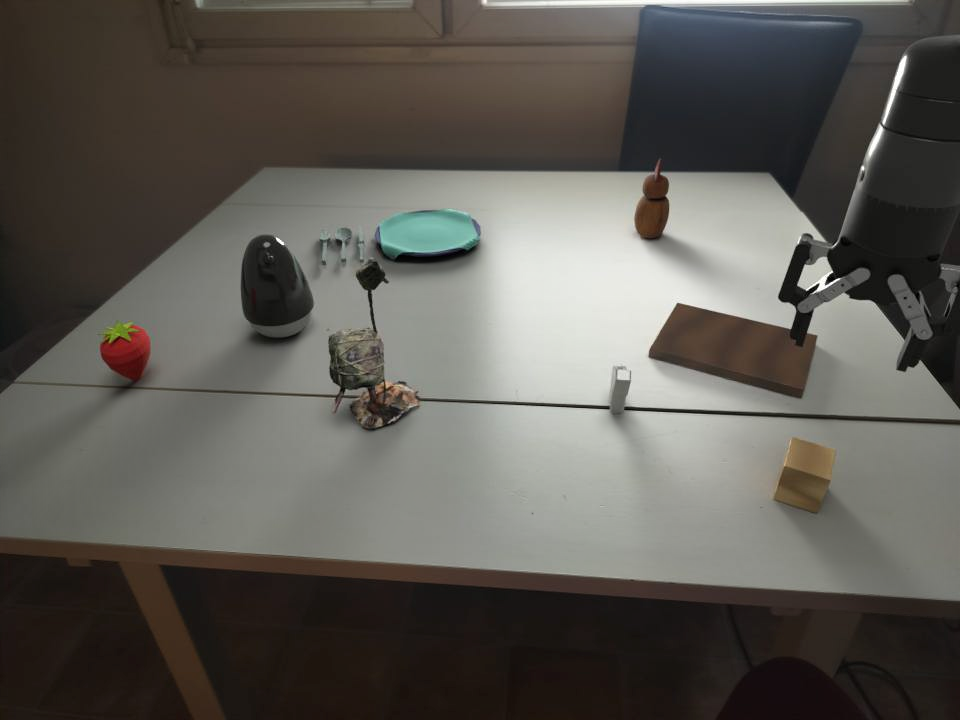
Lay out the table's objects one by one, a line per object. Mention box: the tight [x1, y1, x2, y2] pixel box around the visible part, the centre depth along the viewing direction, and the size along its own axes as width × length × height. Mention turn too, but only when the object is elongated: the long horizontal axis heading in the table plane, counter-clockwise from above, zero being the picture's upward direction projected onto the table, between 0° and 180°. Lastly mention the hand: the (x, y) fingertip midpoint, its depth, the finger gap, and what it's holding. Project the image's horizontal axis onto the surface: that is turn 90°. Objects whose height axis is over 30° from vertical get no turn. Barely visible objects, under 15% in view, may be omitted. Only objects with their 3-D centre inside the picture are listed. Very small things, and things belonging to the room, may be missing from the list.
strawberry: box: [97, 317, 151, 382], centre depth 88 cm, size 6×8×10 cm
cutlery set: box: [319, 208, 482, 266], centre depth 124 cm, size 20×30×2 cm, turn 99°
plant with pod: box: [326, 257, 421, 430], centre depth 79 cm, size 8×11×20 cm
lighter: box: [609, 364, 632, 414], centre depth 82 cm, size 7×2×8 cm, turn 171°
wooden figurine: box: [633, 158, 670, 239], centre depth 121 cm, size 7×6×15 cm
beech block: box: [772, 436, 837, 514], centre depth 71 cm, size 4×5×5 cm
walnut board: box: [647, 302, 818, 399], centre depth 94 cm, size 20×14×2 cm
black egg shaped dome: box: [240, 233, 315, 339], centre depth 97 cm, size 10×10×15 cm
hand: (848, 354), depth 62 cm, fingers open, 8 cm apart
